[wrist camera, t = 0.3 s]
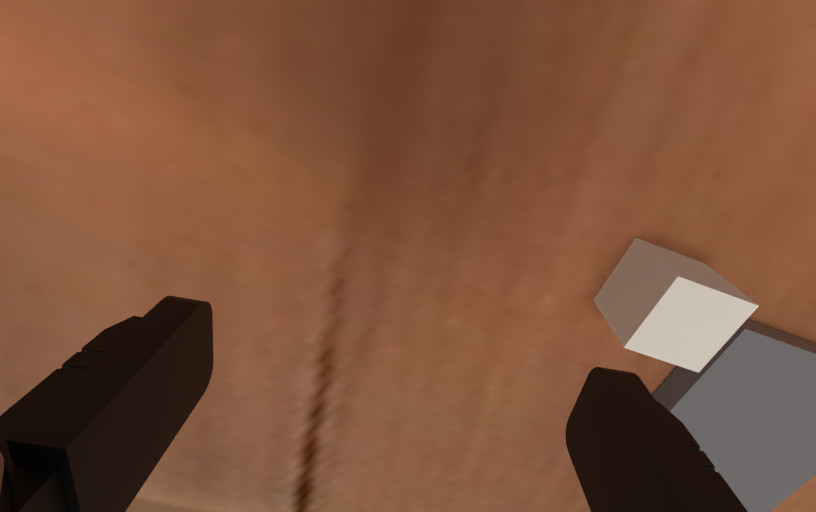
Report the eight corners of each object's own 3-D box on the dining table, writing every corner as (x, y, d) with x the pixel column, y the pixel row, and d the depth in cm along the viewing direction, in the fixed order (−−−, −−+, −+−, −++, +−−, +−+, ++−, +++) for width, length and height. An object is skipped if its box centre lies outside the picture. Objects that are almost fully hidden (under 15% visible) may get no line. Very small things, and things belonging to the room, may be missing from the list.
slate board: (724, 310, 28) (745, 328, 26) (891, 370, 30) (920, 391, 28) (596, 458, 35) (606, 480, 33) (737, 500, 37) (753, 523, 35)
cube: (634, 236, 26) (678, 276, 22) (703, 262, 27) (758, 305, 22) (592, 300, 28) (623, 347, 24) (656, 322, 29) (698, 372, 24)
